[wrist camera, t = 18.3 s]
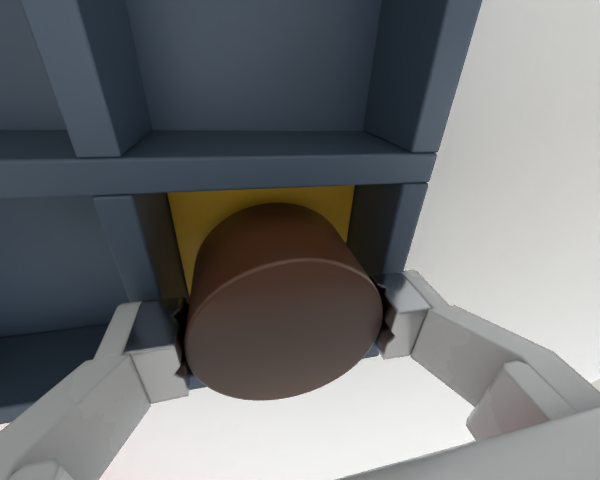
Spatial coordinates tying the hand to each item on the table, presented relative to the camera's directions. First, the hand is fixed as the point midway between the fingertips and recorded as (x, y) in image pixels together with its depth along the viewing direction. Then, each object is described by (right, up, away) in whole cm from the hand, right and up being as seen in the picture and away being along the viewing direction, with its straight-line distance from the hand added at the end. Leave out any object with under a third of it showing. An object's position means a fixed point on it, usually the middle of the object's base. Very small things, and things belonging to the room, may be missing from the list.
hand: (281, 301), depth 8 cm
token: (0, +1, +1) cm, 2 cm away
